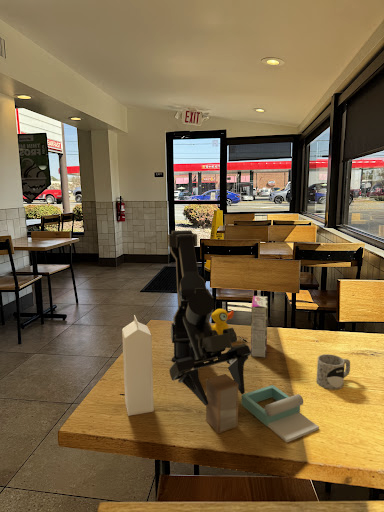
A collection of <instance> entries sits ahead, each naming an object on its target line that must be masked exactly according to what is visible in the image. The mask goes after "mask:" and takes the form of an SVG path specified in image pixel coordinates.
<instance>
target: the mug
mask: <svg viewBox="0 0 384 512" xmlns="http://www.w3.org/2000/svg"><path fill="white" fill-rule="evenodd" d="M350 372H351V360H349V359H348V358H342V357H340V356H338V355H336V354H335V355H334V354H329V353H328V354H325V353H324V354H320V355H319V356H318V357H317V366H316V384H317V385H318V386H319V387H321V388H323V389H326V390H330V391H337V390H341V389H343V387H344V378H346V377H347V376H348V375H350Z"/></svg>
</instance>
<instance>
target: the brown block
mask: <svg viewBox="0 0 384 512" xmlns="http://www.w3.org/2000/svg"><path fill="white" fill-rule="evenodd" d="M205 385H206V386H205V387H206V388H205V391H206V392H205V394H206V397H207V400H208V405H206V406H205V408H206V409H205V411H206V412H205V413H206V414H205V417H206V419H205V421H206V422H207V423H208V424H209V425H210V427H211V428H213V430H214V431H215V432H216V434H220V433H223V432H226V431H229V430H232V429H234V428H237V427H239V426H238V423H239V422H238V421H239V417H238V415H239V390H238V383H236V382H235V381H234V380H233V378H231V377H230V376H229V375H228V374H227V373H224V374H220V375H217V376H213V377H209V378H206V379H205Z"/></svg>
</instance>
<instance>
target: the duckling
mask: <svg viewBox="0 0 384 512" xmlns="http://www.w3.org/2000/svg"><path fill="white" fill-rule="evenodd" d="M234 314H235V313H234V310H231V311H230V312H228V311H227V310H226V309H224V308H217V309H215V310H213V312H212V315H211V317H210V318H211V319H212V320H213V322H214V324H213V325H212V324H211V322H210V321H209V323H210V326H211V328H212V330H216V331H217V334H218V335H220V334H223V330H224V329H228V328H230V327H229V324H228V323H227V320H228V321H229V320H231V319H233V317H234Z"/></svg>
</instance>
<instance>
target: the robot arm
mask: <svg viewBox="0 0 384 512" xmlns="http://www.w3.org/2000/svg"><path fill="white" fill-rule="evenodd" d="M167 246H168V247H169V248H170V249H169V250H170V254H171V255H172V257H173V258H174V259H175V269H176V272H175V273H176V291H177V292H176V293H177V294H176V295H177V310H176V311H175V313H174V315H173V319H172V321H173V322H171V326H170V339H171V343H172V344H173V357H171V358H170V359H171V361H172V362H174V363H173V364H172V366H170V369H169V376H170V378H171V381H176V380H177V382H178V383H179V384H180V383H182V384H183V385H185V386H186V387H187V388H188V389H189V390H190V391H191V392H192V393H193V394H194V395H195V396H196V397H197V399H199V401H200V402H202V404H203V405H204V406H205V407H206V405H208V400H207V397H206V392H205V389H204V387H203V384H202V382H201V379H200V373H199V369H202V368H206V367H210V366H213V365H218V364H222V363H225V362H226V364H228V365H229V366H228V367H227V369H228V372H229V373H230V375H231V377H232V379H233V380H234V381H235V382H236V383H238V392H239V393H240V394H241V395H242V394H246V391H245V377H244V375H245V374H244V366H245V363H246V361H247V360H249V356H251V354H252V352H251V347H250V346H249V345H248V344H246V343H244V342H243V343H241V344H237V345H233V343H236V342H238V337H237V333H236V331H235V329H234V328H233V327H229V328H228V329H224V330H223V334H220V335H218V334H217V331H216V330H212V328H211V326H210V324H211V322H210V321H211V318H212V317H211V315H212V313H213V312H214V308H215V300H214V299H215V298H214V296H213V295H212V294H211V293H210V289H208V288H207V285H206V281H205V279H204V278H203V277H202V276H201V275H200V274H199V267H198V262H197V256H196V250H195V248H196V247H198V234H197V233H193V231H192V230H189V229H188V230H171V234H167ZM209 322H210V323H209ZM226 349H228V350H227V351H226ZM225 351H226V352H225ZM222 352H223V353H222Z"/></svg>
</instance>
